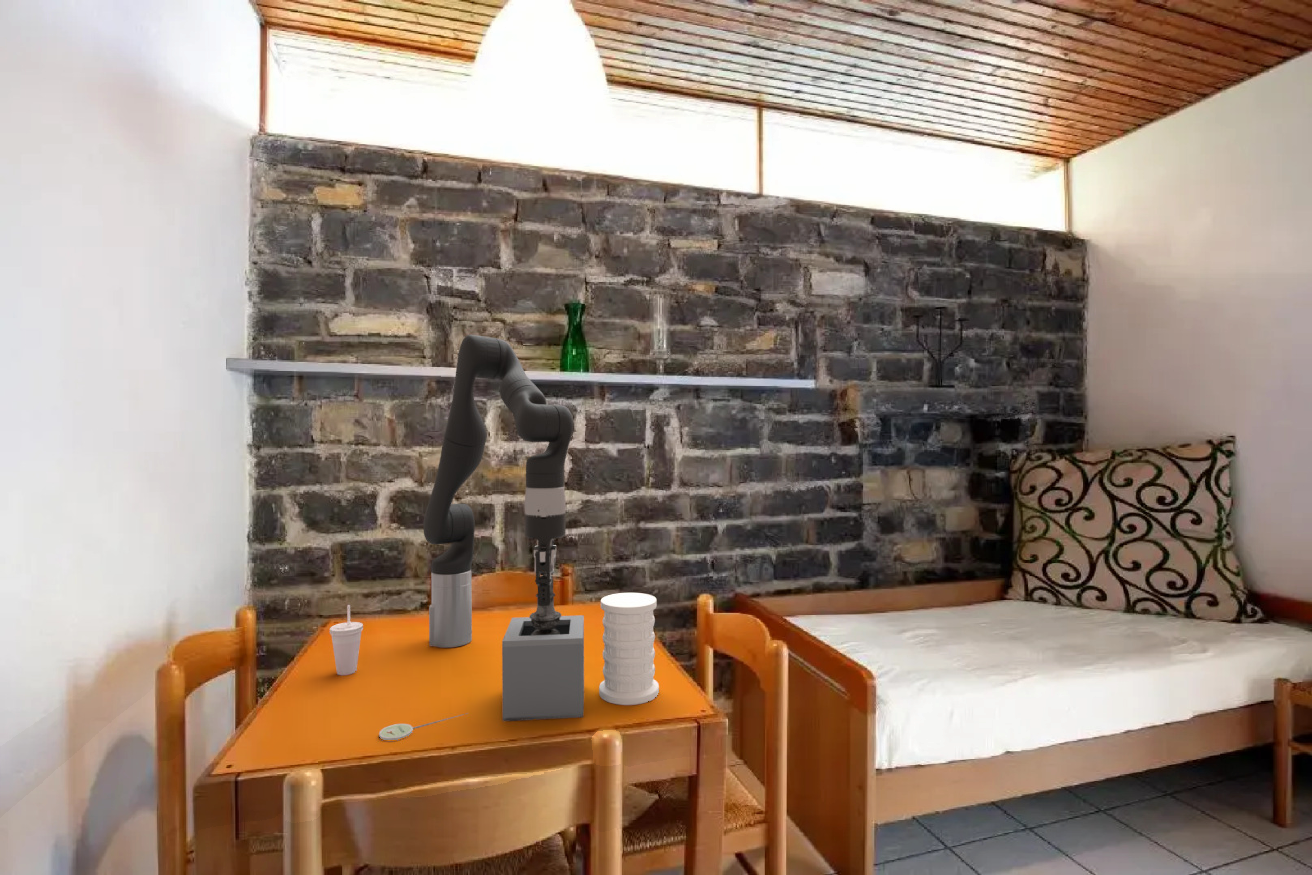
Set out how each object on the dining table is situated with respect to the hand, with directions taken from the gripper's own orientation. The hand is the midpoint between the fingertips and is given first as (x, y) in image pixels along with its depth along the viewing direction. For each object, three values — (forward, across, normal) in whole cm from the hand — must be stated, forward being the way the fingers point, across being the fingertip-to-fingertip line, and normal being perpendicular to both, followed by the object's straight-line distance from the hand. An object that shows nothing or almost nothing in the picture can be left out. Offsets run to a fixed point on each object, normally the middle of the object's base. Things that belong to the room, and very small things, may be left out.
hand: (545, 599), depth 116 cm
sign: (+20, +7, -20) cm, 29 cm away
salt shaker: (+7, 0, 0) cm, 7 cm away
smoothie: (+19, -20, -43) cm, 51 cm away
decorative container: (+19, -3, +16) cm, 25 cm away
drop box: (+19, 0, 0) cm, 19 cm away
